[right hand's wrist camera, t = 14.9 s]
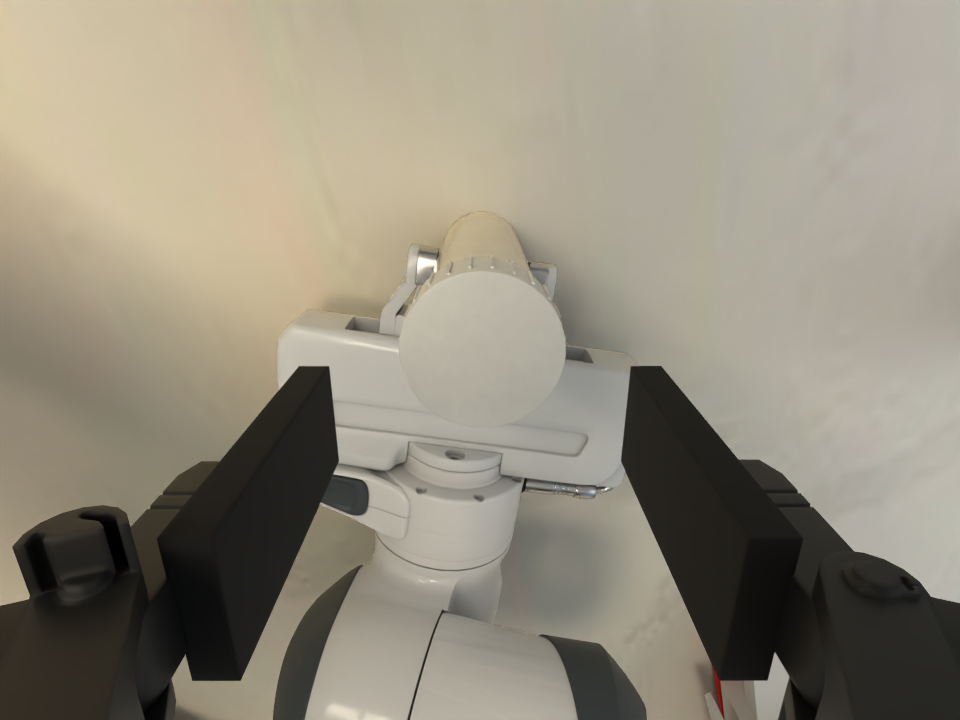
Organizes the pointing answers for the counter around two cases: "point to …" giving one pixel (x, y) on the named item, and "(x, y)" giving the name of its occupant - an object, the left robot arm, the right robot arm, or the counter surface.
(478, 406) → the lid
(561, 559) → the counter surface
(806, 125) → the counter surface
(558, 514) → the counter surface
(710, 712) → the toy
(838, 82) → the counter surface
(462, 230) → the jar
